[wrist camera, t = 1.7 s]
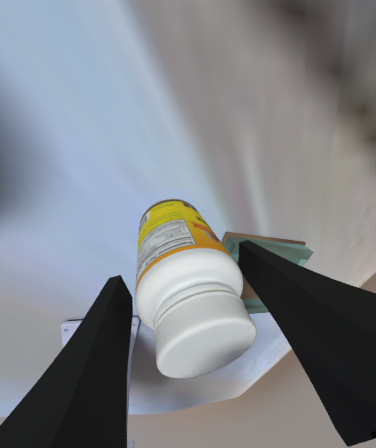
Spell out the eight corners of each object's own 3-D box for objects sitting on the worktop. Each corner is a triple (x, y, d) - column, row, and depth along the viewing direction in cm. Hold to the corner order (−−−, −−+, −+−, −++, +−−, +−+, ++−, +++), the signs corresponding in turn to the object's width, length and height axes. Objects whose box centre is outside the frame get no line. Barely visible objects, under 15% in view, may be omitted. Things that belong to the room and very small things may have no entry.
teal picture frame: (261, 302, 25) (269, 313, 24) (193, 306, 21) (197, 319, 20) (303, 241, 20) (316, 250, 19) (225, 231, 16) (234, 241, 15)
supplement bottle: (204, 236, 16) (274, 352, 7) (153, 256, 16) (164, 402, 7) (191, 186, 13) (281, 279, 5) (128, 208, 13) (94, 356, 4)
